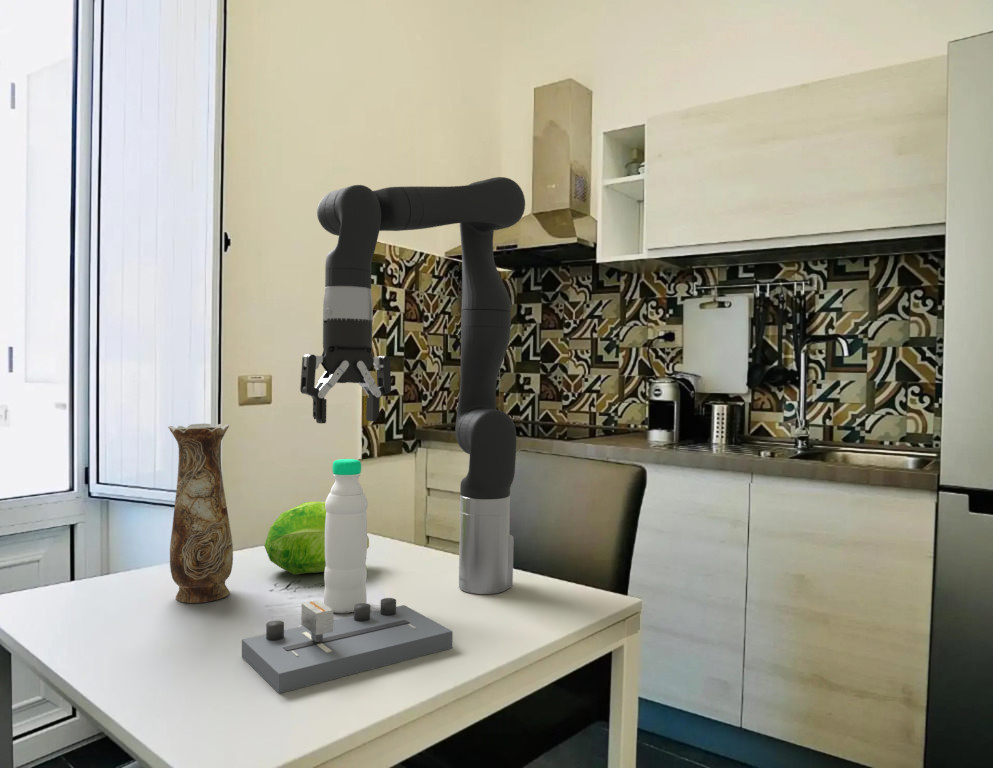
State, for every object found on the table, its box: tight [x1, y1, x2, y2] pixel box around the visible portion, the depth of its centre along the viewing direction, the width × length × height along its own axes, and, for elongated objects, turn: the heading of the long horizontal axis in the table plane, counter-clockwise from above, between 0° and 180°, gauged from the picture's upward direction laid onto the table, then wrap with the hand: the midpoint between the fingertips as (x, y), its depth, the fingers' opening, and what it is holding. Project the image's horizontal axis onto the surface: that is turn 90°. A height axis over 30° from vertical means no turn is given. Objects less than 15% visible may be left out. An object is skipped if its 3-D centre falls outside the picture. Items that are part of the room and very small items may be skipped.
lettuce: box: [263, 500, 370, 575], centre depth 146 cm, size 15×20×14 cm
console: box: [241, 597, 454, 694], centre depth 106 cm, size 26×14×4 cm, turn 127°
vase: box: [167, 423, 234, 604], centre depth 129 cm, size 10×11×30 cm
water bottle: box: [323, 458, 369, 614], centre depth 125 cm, size 7×7×25 cm
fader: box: [300, 599, 334, 642], centre depth 103 cm, size 2×5×5 cm, turn 37°
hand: (346, 422), depth 115 cm, fingers open, 8 cm apart
